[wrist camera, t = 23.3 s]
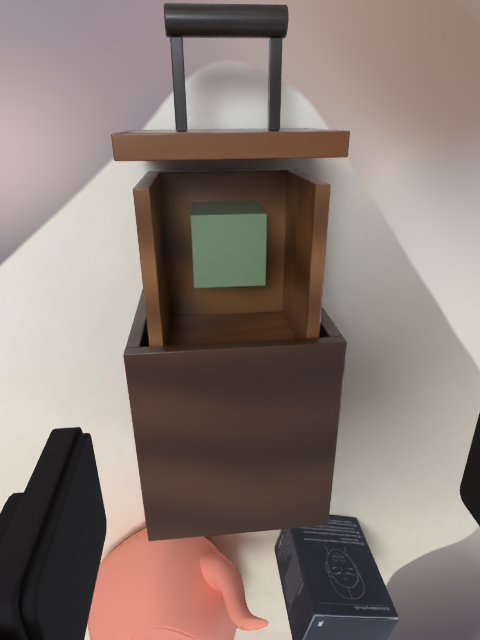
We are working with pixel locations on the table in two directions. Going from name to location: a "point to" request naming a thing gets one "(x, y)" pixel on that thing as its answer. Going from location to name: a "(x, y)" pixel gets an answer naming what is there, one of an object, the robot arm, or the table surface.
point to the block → (228, 244)
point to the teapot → (168, 593)
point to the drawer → (228, 186)
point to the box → (333, 583)
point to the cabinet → (235, 431)
